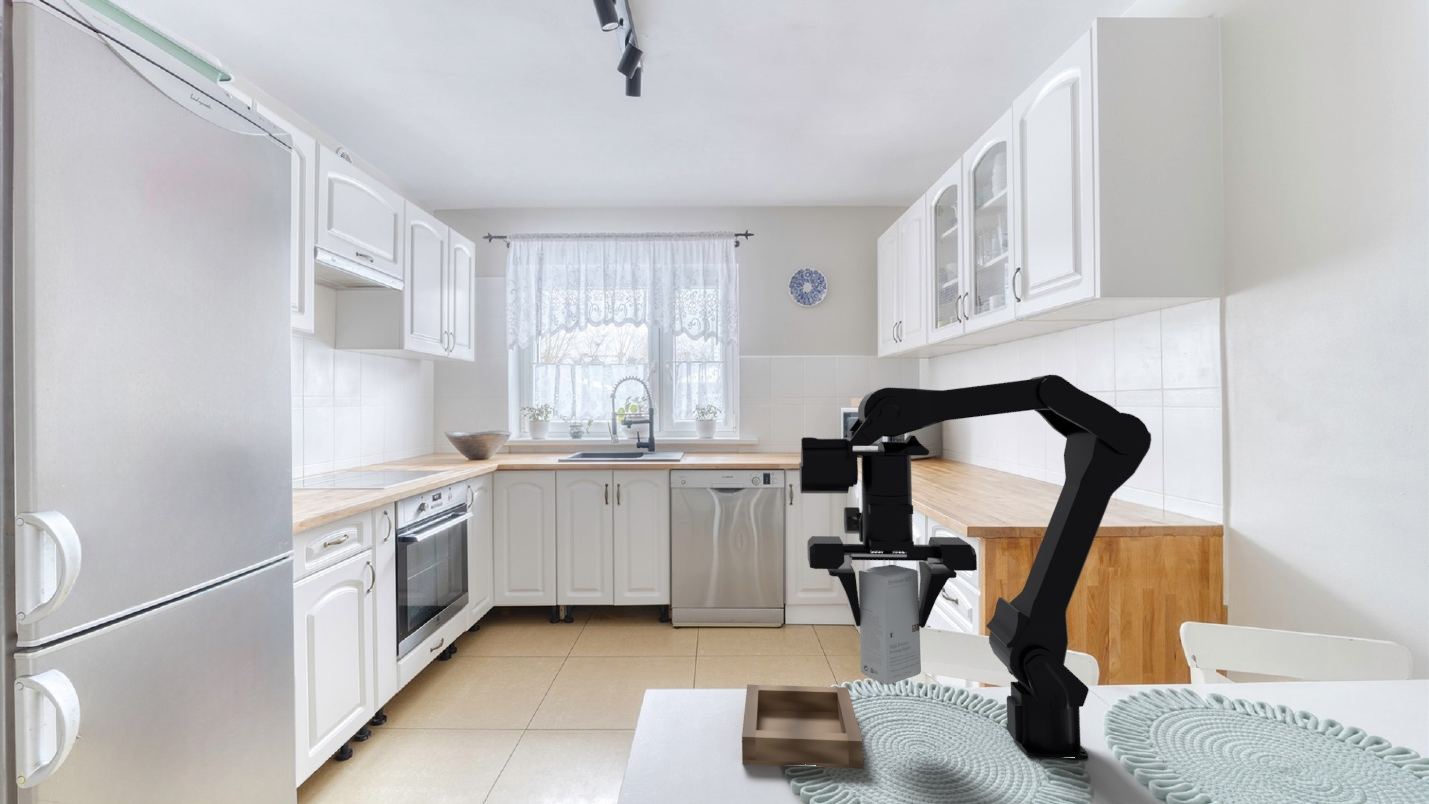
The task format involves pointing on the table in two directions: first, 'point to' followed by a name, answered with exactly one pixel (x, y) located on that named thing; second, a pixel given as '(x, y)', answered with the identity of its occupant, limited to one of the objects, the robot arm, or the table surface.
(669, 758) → the table surface
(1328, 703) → the table surface
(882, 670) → the skincare box
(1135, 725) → the table surface
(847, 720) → the brown wooden tray
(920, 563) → the robot arm
